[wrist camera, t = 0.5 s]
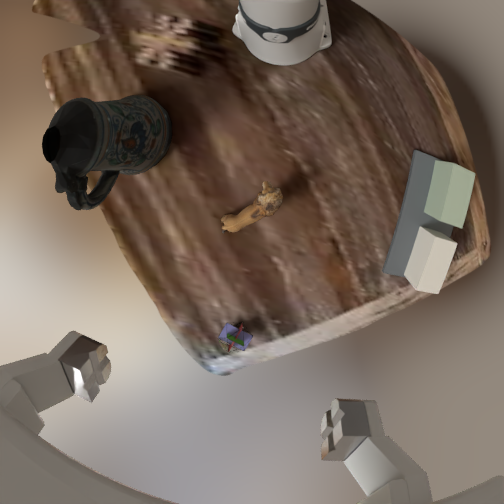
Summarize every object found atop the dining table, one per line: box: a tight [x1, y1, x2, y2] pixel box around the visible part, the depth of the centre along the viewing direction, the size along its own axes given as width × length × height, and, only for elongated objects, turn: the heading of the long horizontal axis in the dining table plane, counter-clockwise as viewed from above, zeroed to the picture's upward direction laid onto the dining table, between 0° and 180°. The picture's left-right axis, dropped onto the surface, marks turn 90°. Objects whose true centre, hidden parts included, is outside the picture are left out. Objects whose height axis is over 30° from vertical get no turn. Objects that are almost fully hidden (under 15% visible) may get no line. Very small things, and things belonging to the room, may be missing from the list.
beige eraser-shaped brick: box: [404, 226, 457, 294], centre depth 46 cm, size 11×6×7 cm, turn 171°
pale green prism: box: [424, 160, 475, 228], centre depth 41 cm, size 11×6×7 cm, turn 171°
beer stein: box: [42, 95, 172, 210], centre depth 38 cm, size 16×19×25 cm
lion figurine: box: [221, 181, 283, 233], centre depth 48 cm, size 15×5×9 cm, turn 131°
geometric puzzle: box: [218, 322, 253, 353], centre depth 60 cm, size 7×7×8 cm
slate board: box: [382, 150, 454, 277], centre depth 48 cm, size 26×14×1 cm, turn 171°
